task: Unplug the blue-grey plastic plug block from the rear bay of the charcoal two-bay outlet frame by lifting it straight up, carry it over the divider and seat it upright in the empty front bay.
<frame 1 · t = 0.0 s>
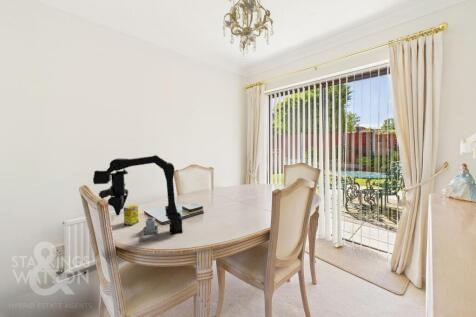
hand: (119, 212, 110), 15 cm above the table, fingers open, 9 cm apart
supplement box: (131, 223, 131), on the table
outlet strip: (150, 234, 117), on the table
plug: (150, 231, 120), resting in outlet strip
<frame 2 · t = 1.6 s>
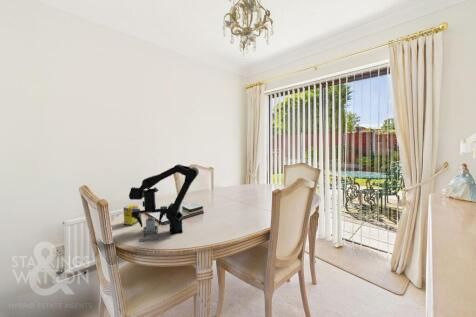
hand: (150, 225, 120), 3 cm above the table, fingers open, 9 cm apart
nothing on the table moved.
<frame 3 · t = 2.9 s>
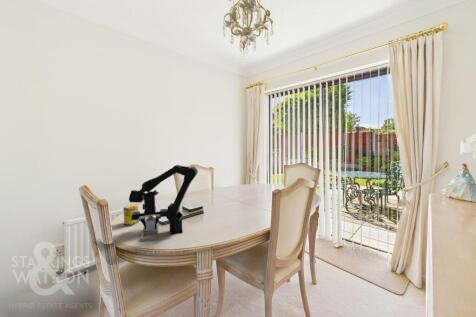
hand: (150, 228, 120), 2 cm above the table, fingers closed on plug, 4 cm apart
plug: (150, 231, 120), resting in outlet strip, touching gripper
everything else where it was.
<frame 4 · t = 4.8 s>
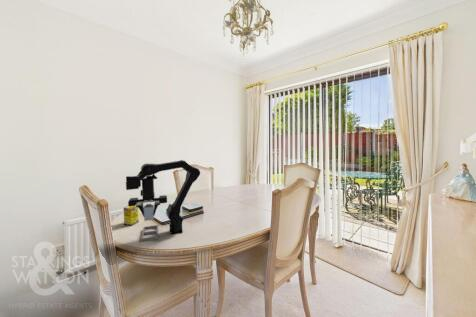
hand: (149, 216, 112), 12 cm above the table, fingers closed on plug, 4 cm apart
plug: (149, 218, 112), point 10 cm above the table, touching gripper
everything else where it was.
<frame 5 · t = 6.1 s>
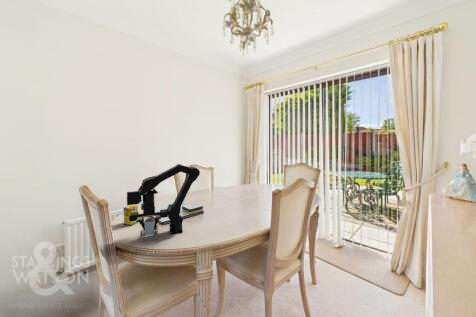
hand: (149, 230, 113), 4 cm above the table, fingers closed on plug, 4 cm apart
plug: (149, 232, 113), point 2 cm above the table, touching gripper
everything else where it was.
when the fingers open (3 cm above the table, at t = 7.1 s): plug drops 1 cm, resting in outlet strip.
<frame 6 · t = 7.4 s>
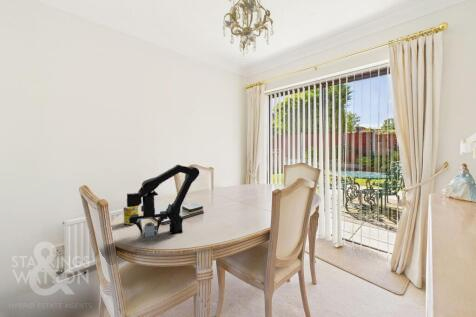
hand: (149, 232, 113), 3 cm above the table, fingers open, 7 cm apart
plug: (149, 237, 113), resting in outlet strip
everything else where it was.
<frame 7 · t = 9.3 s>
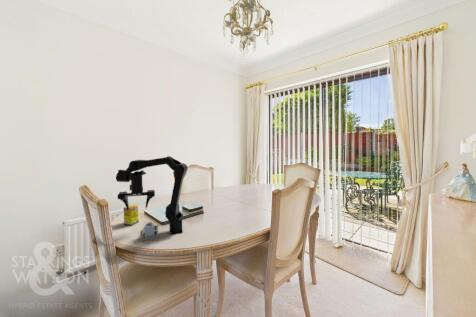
hand: (137, 208, 120), 13 cm above the table, fingers open, 9 cm apart
nothing on the table moved.
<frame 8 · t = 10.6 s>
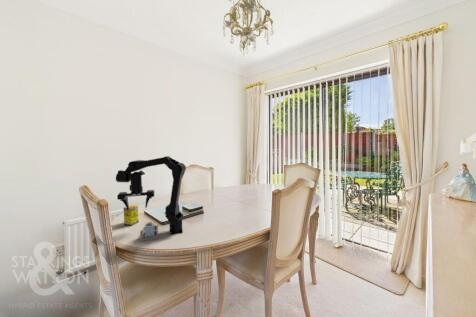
hand: (137, 209, 121), 12 cm above the table, fingers open, 9 cm apart
nothing on the table moved.
at the end: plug 0.0 cm from the target spot, resting in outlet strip; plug tilted 0°; the gripper is holding nothing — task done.
